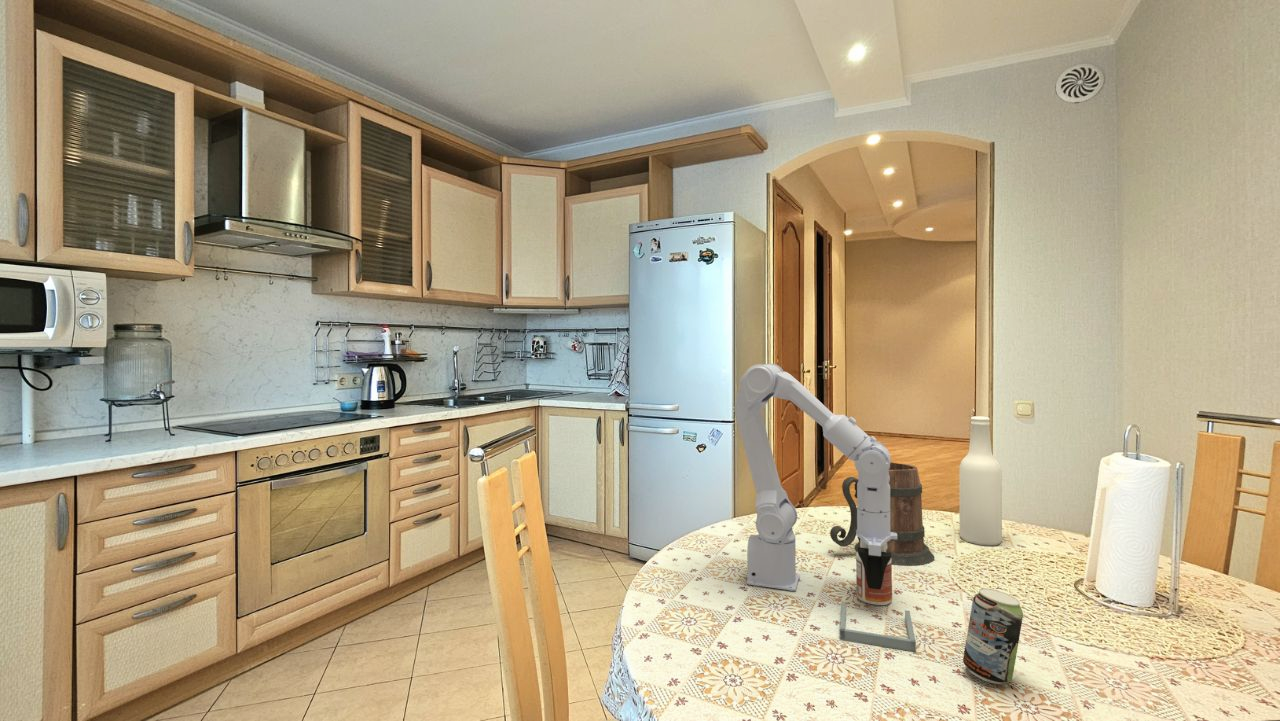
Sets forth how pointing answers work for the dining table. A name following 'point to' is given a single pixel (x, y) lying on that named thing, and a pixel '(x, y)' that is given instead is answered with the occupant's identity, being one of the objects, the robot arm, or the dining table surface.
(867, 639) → the bracket
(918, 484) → the tankard
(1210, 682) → the dining table surface
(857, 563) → the pill bottle
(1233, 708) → the dining table surface
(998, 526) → the alcohol
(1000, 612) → the beverage can
